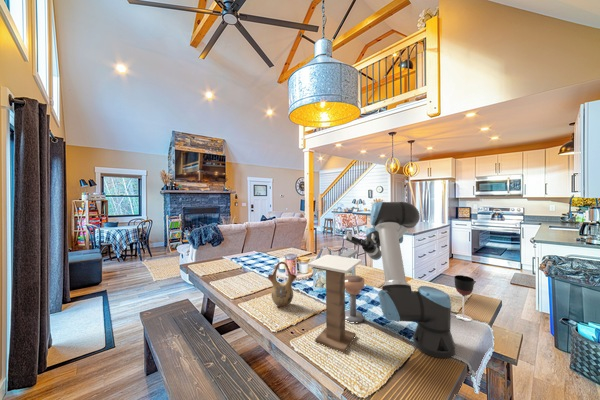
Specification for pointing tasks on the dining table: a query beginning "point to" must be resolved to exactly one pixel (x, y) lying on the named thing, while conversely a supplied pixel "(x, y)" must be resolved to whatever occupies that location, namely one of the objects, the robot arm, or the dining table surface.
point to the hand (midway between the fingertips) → (359, 234)
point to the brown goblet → (353, 297)
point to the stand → (335, 313)
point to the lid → (337, 262)
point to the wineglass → (464, 289)
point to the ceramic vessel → (282, 288)
